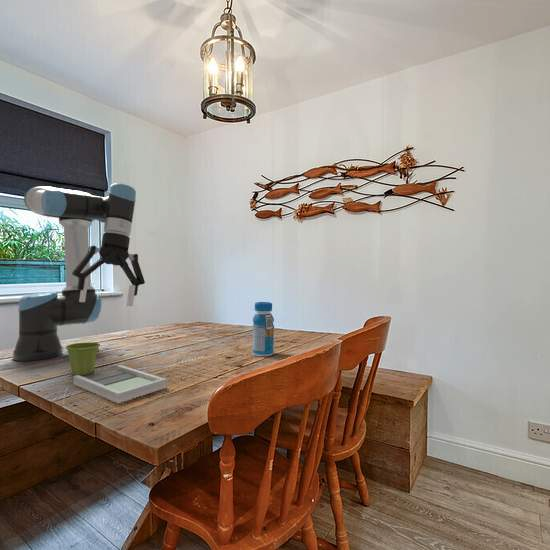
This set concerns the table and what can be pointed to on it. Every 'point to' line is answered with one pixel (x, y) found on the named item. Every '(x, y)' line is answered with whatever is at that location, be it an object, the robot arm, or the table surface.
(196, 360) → the table surface
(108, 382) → the box
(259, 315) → the beverage bottle
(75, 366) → the plant pot
